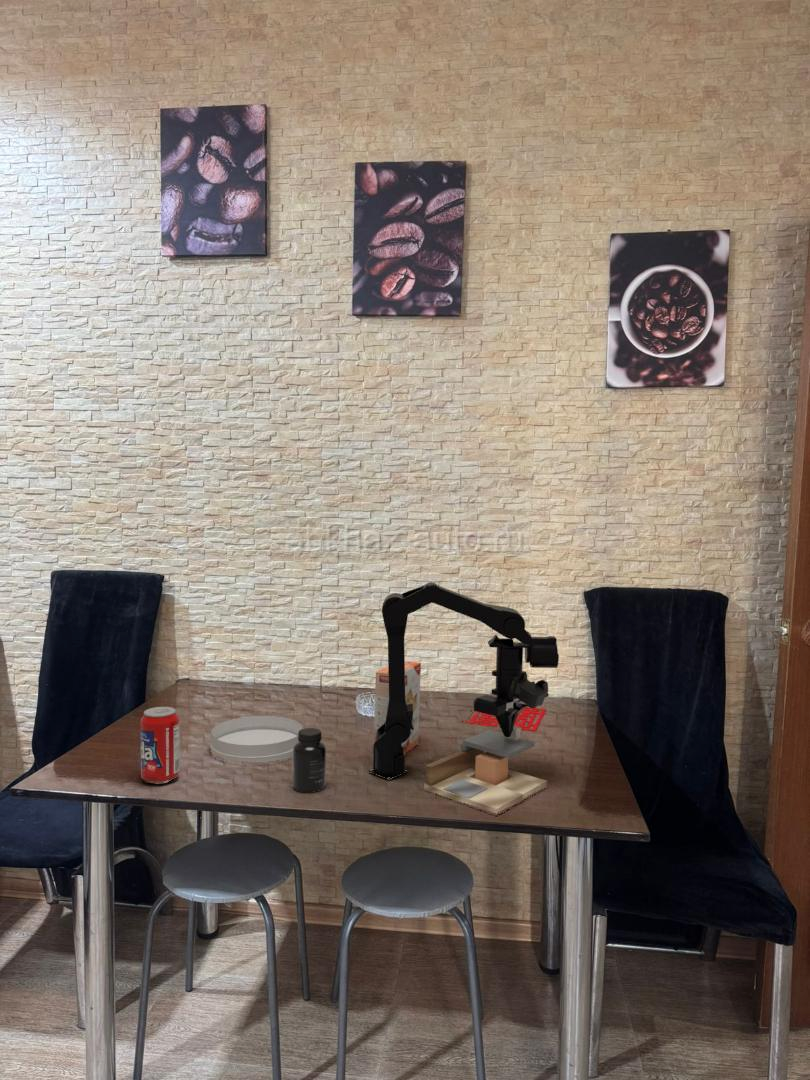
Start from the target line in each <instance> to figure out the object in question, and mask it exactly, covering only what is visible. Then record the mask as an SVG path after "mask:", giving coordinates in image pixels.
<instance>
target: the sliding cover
mask: <svg viewBox="0 0 810 1080" xmlns="http://www.w3.org/2000/svg"><path fill="white" fill-rule="evenodd" d="M521 734H522V730H521V727H518V726H514V727H513V730H512V733H511V736H510V737H505V736H504V734H503V732H499V731H496V730H491V729H487V730H485V731H482V732H480V733H478V734H475V735H473V736H471V737H468V738H466V739H464V740H462V743H461V744H460V751H461V750H464V751H466V750H469V749H471V748H475V749H479V750H482V751H484V752H489V753H492V754H496V755H499V756H503V757H506V758H508V759H512V758H513V757H516V756H517V755H520V754H522V753H525V751H528V750H530V749H532V748H534V747H535V741H533V740H528V739H525V738H522V737H521V736H522V735H521Z"/></svg>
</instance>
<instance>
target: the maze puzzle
mask: <svg viewBox="0 0 810 1080" xmlns="http://www.w3.org/2000/svg"><path fill="white" fill-rule="evenodd" d="M530 709H532V710H530ZM539 710H541V711H540V712H539ZM546 712H547V709H544V708H537V707H536V708H530V707H528V706H527V707H526V708H524V709H523V710H522V711H520V712H519V714H518V716H517V719H516V722H515V724H514V726H518V727H521V731H528V732H537V730H538V727H539V726H540V724H541V721H542V719H543V718H544V715H545V713H546ZM475 713H476V712H475ZM475 713H474V714H473V716H472V717H471V718H470V719H469V721H468V720H467V721H466V720H465V722H466V723H465V724H467V723H470V724H469V725H476V724H478V725H477V726H484V725H485V726H487V727H495V728H496V727H497V726H498V725H499V723H498V721H497V719H496V717H495V716H492V715H489V714H485V713H480V712H478V713H480V714H481V715H480V716H479V715H478V713H476V714H477V715H476V714H475ZM520 713H522V714H520ZM537 715H539V716H538V718H537V720H536V722H535V723H533V722H534V721H535V719H536V716H537ZM483 716H486V717H483ZM476 717H478V718H476ZM475 718H476V719H475ZM482 718H484V719H482ZM528 718H530V719H529V720H528ZM480 720H482V721H480ZM520 720H521V721H520ZM470 721H473V722H470ZM519 721H520V722H519ZM478 722H480V723H478ZM492 723H493V724H492ZM526 723H527V724H526ZM525 724H526V725H525ZM531 727H533V728H531Z"/></svg>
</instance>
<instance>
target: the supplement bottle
mask: <svg viewBox="0 0 810 1080" xmlns="http://www.w3.org/2000/svg"><path fill="white" fill-rule="evenodd" d="M298 741H299V742H298V743H297V744H296V745H295V746H294V748H293V758H292V761H293V762H292V786H293V788H294V790H296V791H297V790H298V791H297V792H300V791H302V792H301V793H304V792H312V793H314V792H313V791H317V792H319V791H318V790H320V791H321V789H322V788H323V789H324V788H325V786H326V766H327V765H326V764H327V762H326V761H327V755H326V754H327V750H326V745H325V744H324V742H322V731H321V730H320V728H315V727H307V728H306V727H305V728H304V727H303V729H301V730H300V731H299V732H298ZM323 789H322V790H323Z"/></svg>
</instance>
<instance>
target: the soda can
mask: <svg viewBox="0 0 810 1080" xmlns="http://www.w3.org/2000/svg"><path fill="white" fill-rule="evenodd" d="M139 724H140V725H139V726H140V779H141V778H142V779H144V780H147V781H166V780H171V779H173V778H175V777H177V776H178V775H179V776H180V771H181V770H180V765H181V764H180V753H181V752H180V751H181V750H180V716H179V715H178V714H177V710H176V708H174V707H171V706H156V707H151V708H148V709H145V710H144V711H143V716H142V717H141V718H140V723H139ZM179 776H178V777H179ZM178 777H177V778H178ZM142 779H141V780H142Z"/></svg>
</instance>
